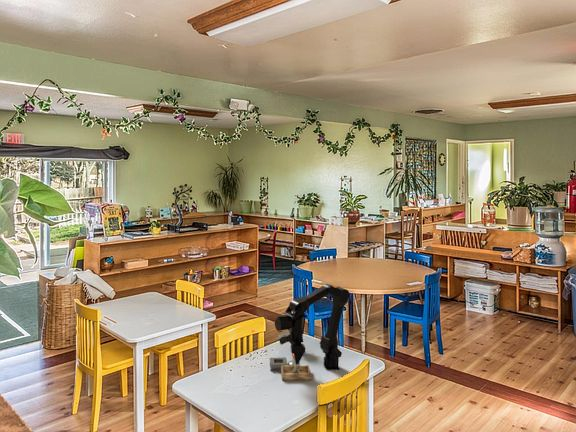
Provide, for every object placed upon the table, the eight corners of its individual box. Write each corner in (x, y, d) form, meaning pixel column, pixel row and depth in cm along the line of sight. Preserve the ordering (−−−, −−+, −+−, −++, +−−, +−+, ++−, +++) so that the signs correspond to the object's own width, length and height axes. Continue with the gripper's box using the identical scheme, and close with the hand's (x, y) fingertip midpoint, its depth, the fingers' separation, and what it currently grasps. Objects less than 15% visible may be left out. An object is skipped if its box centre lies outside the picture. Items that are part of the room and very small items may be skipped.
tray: (308, 371, 211) (308, 365, 211) (311, 380, 202) (311, 373, 202) (280, 371, 210) (281, 365, 210) (282, 380, 201) (282, 374, 201)
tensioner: (298, 363, 220) (298, 357, 220) (300, 370, 212) (300, 364, 212) (269, 363, 219) (269, 357, 219) (270, 370, 211) (270, 364, 211)
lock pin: (299, 372, 208) (300, 352, 207) (300, 376, 204) (300, 355, 203) (291, 372, 208) (291, 352, 207) (291, 376, 204) (292, 355, 203)
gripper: (278, 321, 212) (277, 352, 214) (280, 334, 194) (280, 369, 195) (301, 320, 213) (300, 352, 215) (305, 334, 195) (305, 368, 196)
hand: (296, 360), depth 205 cm, fingers open, 9 cm apart
